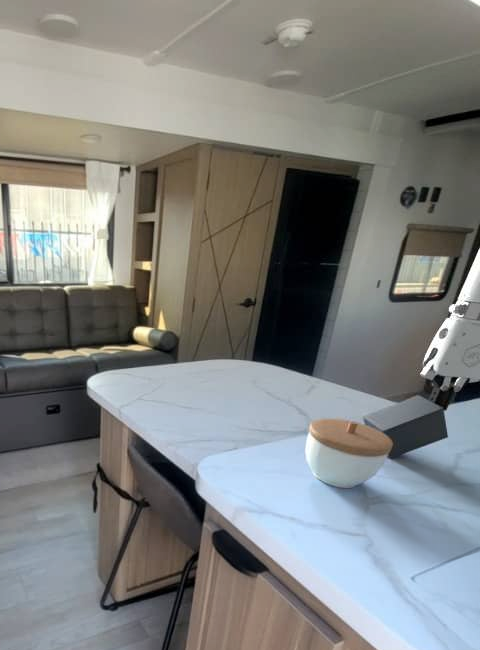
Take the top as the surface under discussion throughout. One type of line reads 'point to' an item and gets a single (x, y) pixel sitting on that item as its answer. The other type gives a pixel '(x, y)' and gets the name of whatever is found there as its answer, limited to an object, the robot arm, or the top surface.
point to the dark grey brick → (410, 424)
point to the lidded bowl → (345, 451)
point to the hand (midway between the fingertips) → (435, 407)
